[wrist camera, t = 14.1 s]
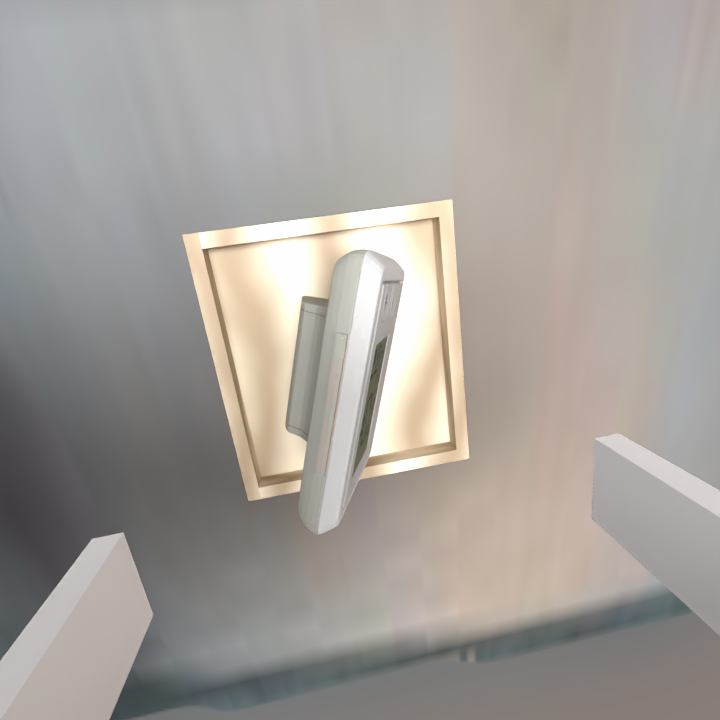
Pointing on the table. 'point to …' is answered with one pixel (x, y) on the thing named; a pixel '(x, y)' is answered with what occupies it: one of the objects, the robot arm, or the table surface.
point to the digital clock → (341, 380)
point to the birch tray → (280, 326)
